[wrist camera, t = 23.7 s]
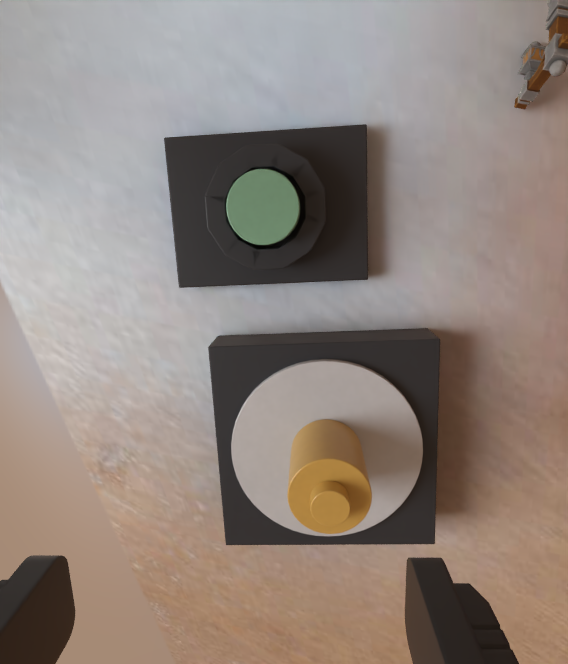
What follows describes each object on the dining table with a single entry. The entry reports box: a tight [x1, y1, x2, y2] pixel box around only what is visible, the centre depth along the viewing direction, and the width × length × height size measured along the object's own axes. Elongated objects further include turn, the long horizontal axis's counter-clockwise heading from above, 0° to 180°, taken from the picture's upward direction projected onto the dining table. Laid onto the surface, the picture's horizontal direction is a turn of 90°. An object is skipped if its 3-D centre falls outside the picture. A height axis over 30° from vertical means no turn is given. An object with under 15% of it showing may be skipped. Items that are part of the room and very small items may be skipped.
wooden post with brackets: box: [515, 0, 568, 109], centre depth 25 cm, size 2×8×4 cm, turn 169°
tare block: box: [164, 125, 368, 288], centre depth 27 cm, size 12×9×3 cm
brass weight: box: [287, 419, 372, 534], centre depth 25 cm, size 4×4×6 cm
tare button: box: [226, 169, 300, 245], centre depth 25 cm, size 4×4×2 cm
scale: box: [208, 328, 440, 545], centre depth 30 cm, size 14×14×4 cm
